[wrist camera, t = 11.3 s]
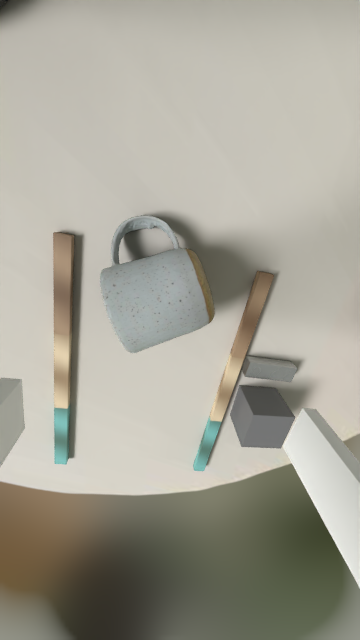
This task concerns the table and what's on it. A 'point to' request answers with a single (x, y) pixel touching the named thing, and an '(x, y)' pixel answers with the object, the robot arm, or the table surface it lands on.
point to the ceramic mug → (155, 291)
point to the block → (261, 417)
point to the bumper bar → (268, 368)
